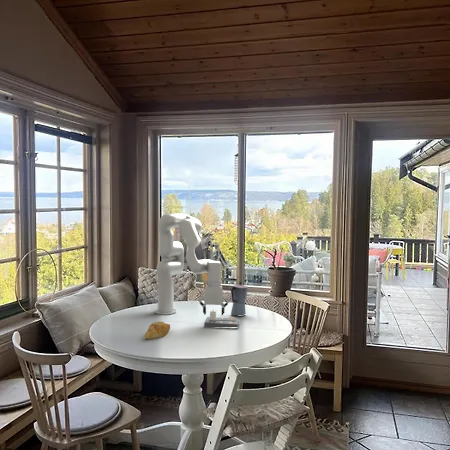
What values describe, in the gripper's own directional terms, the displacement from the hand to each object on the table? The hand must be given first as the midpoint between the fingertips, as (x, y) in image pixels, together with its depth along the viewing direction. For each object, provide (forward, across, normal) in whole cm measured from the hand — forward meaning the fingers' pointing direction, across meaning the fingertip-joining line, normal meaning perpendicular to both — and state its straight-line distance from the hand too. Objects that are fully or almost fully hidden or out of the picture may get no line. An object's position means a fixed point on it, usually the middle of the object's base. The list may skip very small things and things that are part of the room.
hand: (213, 314), depth 253 cm
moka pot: (+6, +12, +23) cm, 27 cm away
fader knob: (+6, 0, 0) cm, 6 cm away
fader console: (+6, +4, 0) cm, 7 cm away
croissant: (+6, -26, -23) cm, 35 cm away
